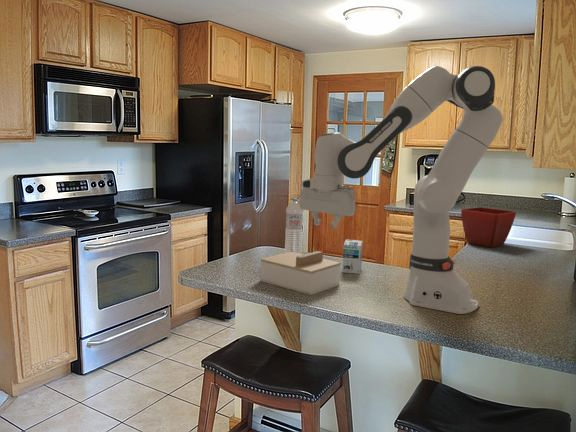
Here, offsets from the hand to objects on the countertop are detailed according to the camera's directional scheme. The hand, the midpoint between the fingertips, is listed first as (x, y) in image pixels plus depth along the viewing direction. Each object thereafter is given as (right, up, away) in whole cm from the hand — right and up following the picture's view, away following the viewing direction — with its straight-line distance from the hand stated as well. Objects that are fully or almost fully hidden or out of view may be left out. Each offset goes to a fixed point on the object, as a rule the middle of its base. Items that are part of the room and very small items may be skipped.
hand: (325, 226), depth 162 cm
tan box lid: (-8, -13, +9) cm, 17 cm away
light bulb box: (+12, -17, +29) cm, 36 cm away
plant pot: (+85, -11, +85) cm, 120 cm away
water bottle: (-10, -15, +42) cm, 46 cm away
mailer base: (-8, -20, +10) cm, 23 cm away
